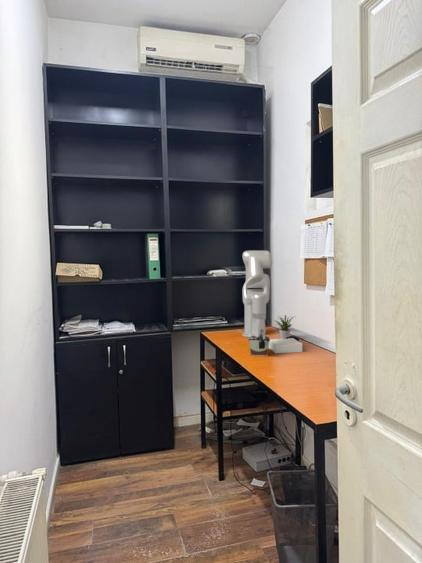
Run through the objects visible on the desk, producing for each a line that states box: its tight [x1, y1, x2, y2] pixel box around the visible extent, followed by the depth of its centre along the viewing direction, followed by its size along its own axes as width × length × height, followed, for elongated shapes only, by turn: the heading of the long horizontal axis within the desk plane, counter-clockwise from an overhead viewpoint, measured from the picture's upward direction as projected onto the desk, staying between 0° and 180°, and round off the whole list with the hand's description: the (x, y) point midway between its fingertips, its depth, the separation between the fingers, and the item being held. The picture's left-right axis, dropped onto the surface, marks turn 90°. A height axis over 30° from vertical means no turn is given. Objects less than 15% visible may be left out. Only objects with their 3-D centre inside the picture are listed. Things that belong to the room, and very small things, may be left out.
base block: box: [268, 337, 303, 354], centre depth 224 cm, size 14×16×5 cm
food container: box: [248, 335, 271, 357], centre depth 214 cm, size 12×6×10 cm, turn 84°
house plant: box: [273, 314, 297, 339], centre depth 249 cm, size 14×14×16 cm
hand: (259, 346), depth 214 cm, fingers open, 9 cm apart
